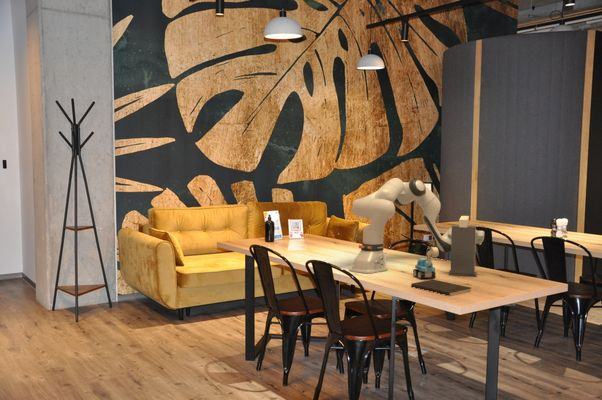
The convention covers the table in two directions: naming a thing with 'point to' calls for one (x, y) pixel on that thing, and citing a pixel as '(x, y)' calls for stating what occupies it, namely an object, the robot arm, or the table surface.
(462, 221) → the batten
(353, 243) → the table surface
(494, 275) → the table surface
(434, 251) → the toy excavator
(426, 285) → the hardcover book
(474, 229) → the stand
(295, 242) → the table surface
